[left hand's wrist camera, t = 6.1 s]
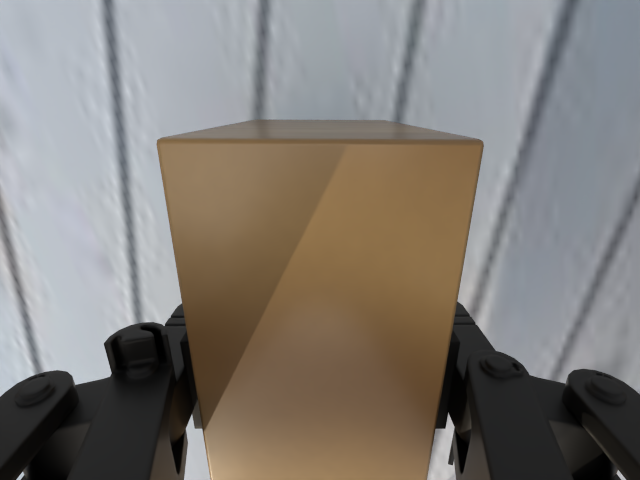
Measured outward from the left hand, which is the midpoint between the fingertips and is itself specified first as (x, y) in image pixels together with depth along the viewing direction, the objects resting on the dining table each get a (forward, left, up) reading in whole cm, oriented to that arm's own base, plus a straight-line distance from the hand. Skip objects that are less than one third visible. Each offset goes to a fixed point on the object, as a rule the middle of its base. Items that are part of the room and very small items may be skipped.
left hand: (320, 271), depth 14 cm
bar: (-10, +31, -1) cm, 33 cm away
